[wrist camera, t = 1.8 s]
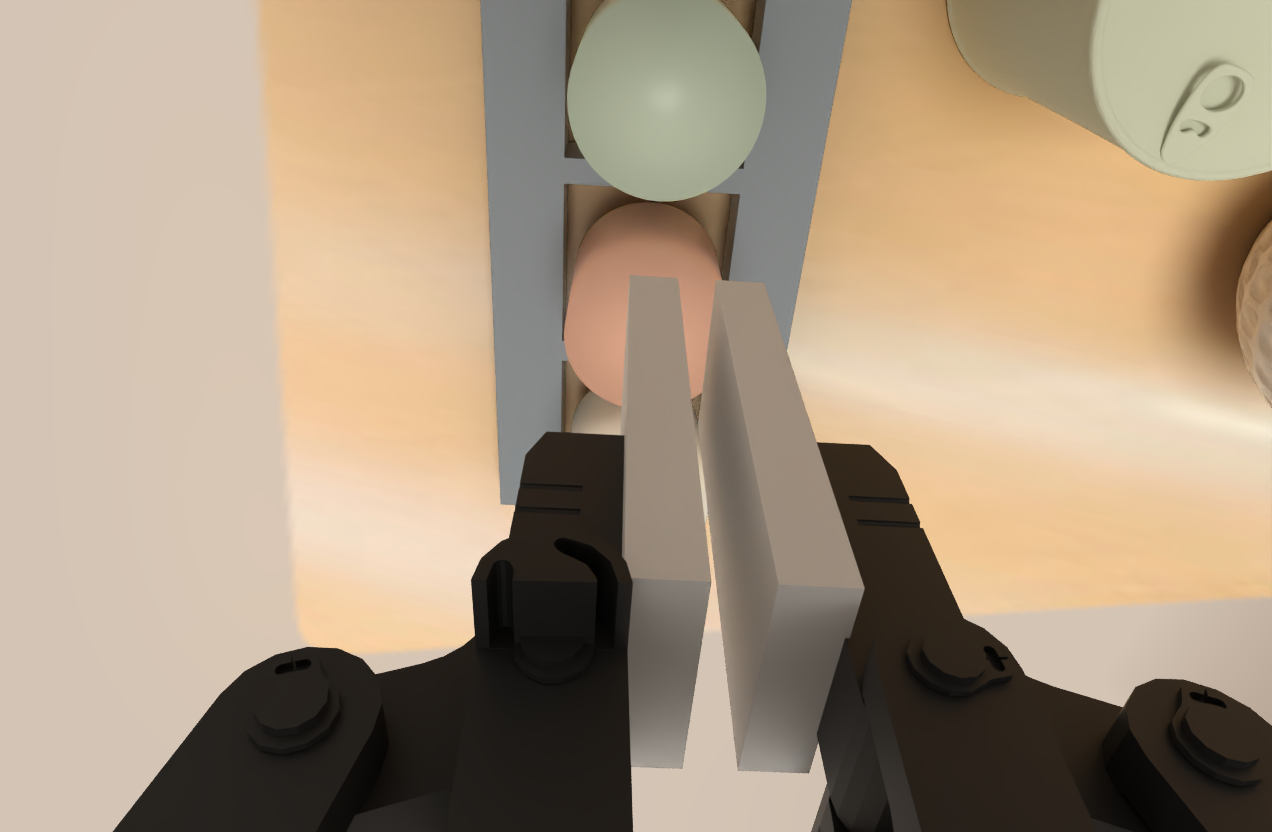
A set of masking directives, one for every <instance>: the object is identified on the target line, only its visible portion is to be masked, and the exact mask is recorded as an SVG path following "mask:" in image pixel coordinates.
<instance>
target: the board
mask: <svg viewBox="0 0 1272 832" xmlns="http://www.w3.org/2000/svg"><path fill="white" fill-rule="evenodd" d="M480 2H481V26H482V51H483V76H484V101H485V126H486V151H487V175H488V200H489V225H490V250H491V275H492V300H493V325H494V349H495V374H496V399H497V424H498V449H499V474H500V498H501V504H505V505H516V500H517V495H518V490H519V488H520V480H521V475H522V470H523V465H524V459H525V455H526V453H527V452H528V451H529V450H530V449H531V448H532V447H533V446H534V445H535V444H536V442H537V441H538V440H539V439H540V438H541V437H542V436H543V435H544V434H545V433H546V432H564V425H565V361H569V359H568V357H567V354H566V349H565V344H564V328H565V320H566V289H567V221H568V184H579V185H595V186H612V185H611V184H609V183H608V182H607V181H605V180H604V179H603V178H602V177H601V176H600V175H599V174H598V173H597V172H596V171H595V170H594V169H593V168H592V167H591V166H590V164H589V163H588V162H587V161H586V159H585V157H584V156H583V154H582V153H581V151H580V149H579V147H578V145H577V143H576V142H569V115H568V106H567V92H568V82H569V77H570V17H571V0H480ZM851 3H852V0H757V1H756V9H755V17H754V25H753V32H752V41H753V43H754V45H755V47H756V49H757V52H758V54H759V56H760V59H761V63H762V66H763V69H764V75H765V81H766V108H765V114H764V119H763V124H762V127H761V130H760V133H759V136H758V138H757V140H756V142H755V144H754V146H753V148H752V150H751V151H750V153H749V155H748V156H747V158H746V159H745V160H744V162H743V163H742V164H741V165H740V167H739V168H738V169H737V170H736V171H735V172H734V173H733V174H732V175H731V176H730V177H729V178H727V179H726V180H725V181H723V182H722V183H721V184H719V185H718V186H716V187H714V188H713V189H711V190H709V191H707V192H711V193H727V194H732V197H731V204H730V212H729V220H728V228H727V236H726V244H725V251H724V259H723V267H722V275H721V277H722V280H724V281H742V282H759V283H764V284H765V287H766V290H767V293H768V296H769V299H770V302H771V305H772V308H773V311H774V314H775V317H776V320H777V323H778V326H779V329H780V332H781V335H782V338H783V341H784V344H785V348H786V351H787V347H788V341H789V336H790V331H791V325H792V320H793V315H794V309H795V304H796V298H797V293H798V288H799V282H800V277H801V272H802V266H803V261H804V255H805V250H806V245H807V239H808V234H809V229H810V223H811V218H812V212H813V207H814V202H815V196H816V191H817V185H818V180H819V175H820V169H821V164H822V159H823V153H824V148H825V142H826V137H827V132H828V126H829V121H830V116H831V110H832V105H833V99H834V94H835V89H836V83H837V78H838V73H839V67H840V62H841V56H842V51H843V46H844V40H845V35H846V29H847V24H848V19H849V13H850V8H851ZM612 187H614V186H612Z"/></svg>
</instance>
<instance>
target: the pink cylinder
mask: <svg viewBox="0 0 1272 832" xmlns="http://www.w3.org/2000/svg"><path fill="white" fill-rule="evenodd" d="M629 275H637V276H654V277H672V278H678V281H679V290H680V300H681V309H682V318H683V327H684V336H685V345H686V355H687V364H688V373H689V382H690V391H691V399H693V398H694V397H696V396H697V395H699V394H701V393H702V388H703V380H704V372H705V364H706V356H707V348H708V340H709V332H710V324H711V316H712V308H713V300H714V292H715V284H716V280H722V277H721V273H720V268H719V264H718V259H717V255H716V251H715V248H714V245H713V243H712V241H711V239H710V237H709V235H708V234H707V232H706V231H705V230H704V228H703V227H702V226H701V225H700V224H699V223H698V222H697V221H696V220H695V219H694V218H692V217H691V216H690V215H688V214H687V213H685V212H683V211H682V210H680V209H677V208H675V207H672V206H669V205H666V204H662V203H654V202H640V203H632V204H628V205H625V206H621V207H619V208H617V209H614V210H612V211H610V212H609V213H607V214H605V215H604V216H603V217H601V218H600V219H599V220H597V221H596V222H595V223H594V224H593V225H592V227H591V228H590V229H589V230H588V232H587V233H586V234H585V236H584V238H583V240H582V241H581V243H580V246H579V249H578V251H577V256H576V260H575V266H574V272H573V278H572V284H571V290H570V296H569V302H568V308H567V314H566V320H565V328H564V344H565V349H566V354H567V357H568V359H569V362H570V364H571V366H572V368H573V370H574V372H575V373H576V375H577V376H578V377H579V379H580V380H581V381H582V382H583V383H584V384H585V385H586V387H588V388H589V389H590V390H591V391H592V392H594V393H595V394H596V395H598V396H600V397H601V398H603V399H605V400H607V401H609V402H611V403H613V404H616V405H619V406H622V391H623V374H624V358H625V341H626V325H627V308H628V292H629Z"/></svg>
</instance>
